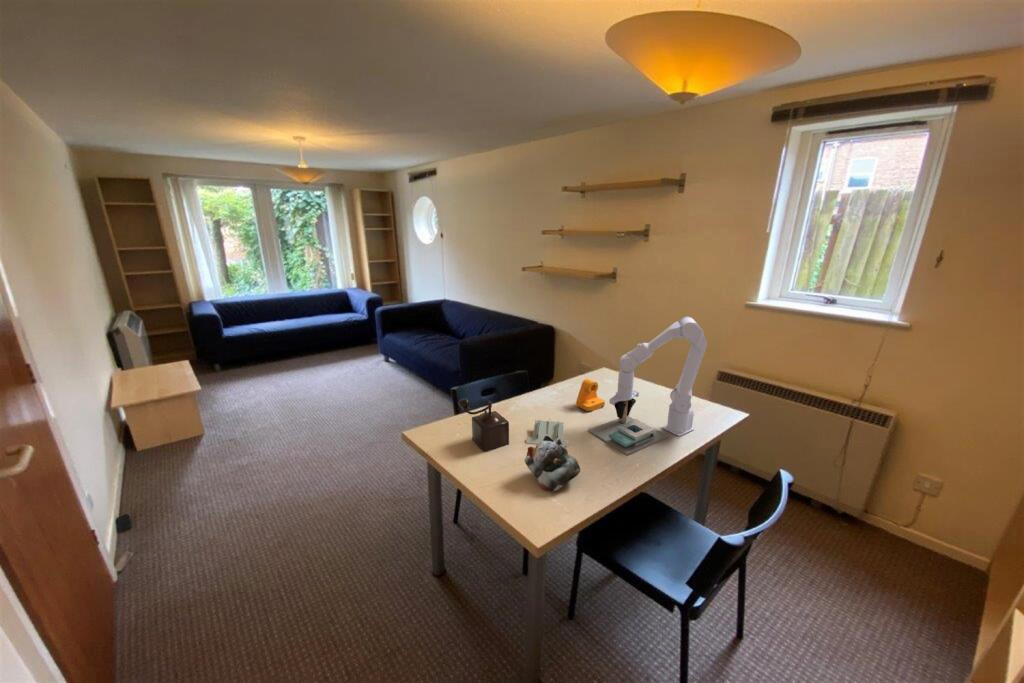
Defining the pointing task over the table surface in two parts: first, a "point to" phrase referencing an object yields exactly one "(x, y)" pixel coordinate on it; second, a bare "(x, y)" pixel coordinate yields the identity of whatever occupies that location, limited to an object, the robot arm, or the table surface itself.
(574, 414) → the table surface
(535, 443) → the metal bracket
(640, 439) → the peg hole fixture
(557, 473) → the lucky cat figurine
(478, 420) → the brown coffee grinder
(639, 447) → the rubber mat
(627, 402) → the maple pin
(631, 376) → the robot arm
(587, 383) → the bracket
